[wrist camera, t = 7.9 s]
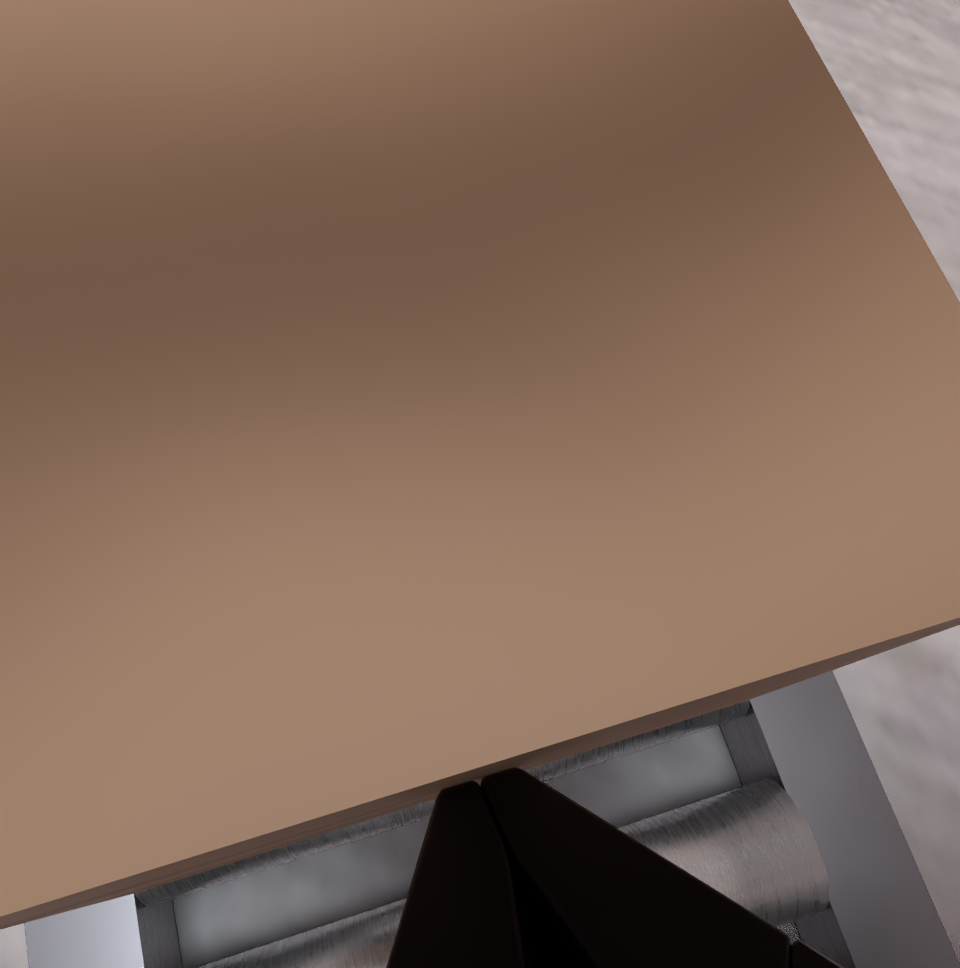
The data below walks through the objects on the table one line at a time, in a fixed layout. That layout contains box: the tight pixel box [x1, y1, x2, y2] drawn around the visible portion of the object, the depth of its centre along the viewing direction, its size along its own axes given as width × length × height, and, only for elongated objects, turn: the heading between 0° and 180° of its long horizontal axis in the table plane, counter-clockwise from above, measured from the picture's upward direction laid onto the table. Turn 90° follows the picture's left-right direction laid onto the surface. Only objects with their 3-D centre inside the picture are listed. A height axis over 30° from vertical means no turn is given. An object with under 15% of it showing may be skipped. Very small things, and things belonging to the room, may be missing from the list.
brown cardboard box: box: [0, 0, 960, 929], centre depth 10 cm, size 8×9×8 cm
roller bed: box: [24, 670, 960, 968], centre depth 13 cm, size 18×13×6 cm
